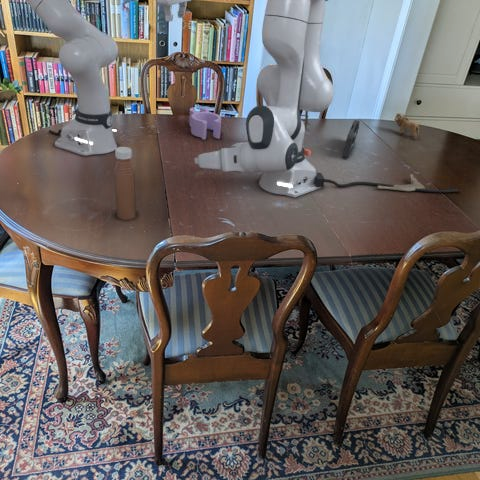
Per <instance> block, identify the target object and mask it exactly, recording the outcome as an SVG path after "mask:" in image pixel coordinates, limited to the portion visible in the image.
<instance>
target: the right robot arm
mask: <svg viewBox="0 0 480 480" xmlns="http://www.w3.org/2000/svg"><path fill="white" fill-rule="evenodd" d="M328 1H329V0H267V1H266V4H265V5H266V6H265V10H264V16H263V21H262V26H261V27H262V28H261V41H262V44H263V47H264V49H265V50H266V52H267V54H269V55H270V56H271V58H272V59H273V60H274V61H275V63H276V64H267V65H265V66H264V67H262V69H261V70H260V71H259V73H258V76H257V79H256V87H257V91H258V93H259V94H260V95H261V97H262V99H263V100H264V102H265V104H266V105H262V104H261V105H257V106H254V107H252V109H251V110H250V111H249V112H248V113H247V117H246V119H245V129H246V137H247V141H242V142H241V141H240V142H236V143H234V144H232V145H230V146H226V147H221V149H219V150H215V151H209V152H204V153H200V154H198V156H197V157H194V164H195V165H198V167H199V168H200V169H207V170H220V171H222V172H223V173H235V174H239V175H244V174H245V175H246V174H247V175H249V174H253V175H254V174H258V173H262V174H261V177H260V178H259V181H258V185H259V186H260V188H262V189H263V190H264V191H266V192H269V193H272V194H275V195H280V196H281V195H282V196H287V197H290V198H297V197H300V196H303V195H305V194H308V193H310V192H313V191H316V190H318V189H322V188H324V187H325V186H324V185H325V183H327V184H328V183H329V184H332V185H334V186H336V187H338V188H348V187H351V186H356V185H357V186H358V185H361V186H373V187H377V186H378V185H380V186H387V187H393V186H394V185H395V184H388V183H380V182H372V181H353V182H347V183H345V184H342V183H338V182H336V181H335V180H332V179H328V178H325V177H324V175H323V174H322V172H317V169H316V167H315V166H314V165H313V164H312V163H311V162H310V161H308V159H306V158H305V156H306V157H310V156H311V154H312V151H311V150H309V149H308V148H304V147H303V145H304V139H305V132H306V129H305V122H304V121H302V120H303V119H302V116H300V115H301V110H302V111H304V112H306V111H308V112H309V113H322V112H324V111H325V110H327V109H328V108H329V107H330V105H331V104H332V103H333V99H334V93H335V90H334V86H333V83H332V81H331V80H330V79H329V78H328V76H327V74H326V72H325V70H324V67H323V63H322V60H321V42H322V41H321V40H322V34H323V33H322V32H323V25H324V21H325V20H324V19H325V11H326V2H328ZM415 189H416V190H415V191H414V192H423V193H436V194H439V193H440V194H447V193H449V194H450V193H459V192H460V189H457V188H456V189H431V188H430V189H429V188H424V189H419V188H415Z"/></svg>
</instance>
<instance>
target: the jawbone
mask: <svg viewBox="0 0 480 480" xmlns="http://www.w3.org/2000/svg"><path fill="white" fill-rule="evenodd" d="M409 179H410V184H409V183H408V184H393V185H394V186H393V187H387V186H380V185H378V186H376V188H377V189H380V190H391V191H400V192H409V193H410V192H416V191H415V190H416V189H415V188H419V189H426V187H425V185H424V184H422V183H421V182H419V181H418V179H417V177H415V176H414V174H413V173H410V174H409Z"/></svg>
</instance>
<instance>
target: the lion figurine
mask: <svg viewBox="0 0 480 480" xmlns="http://www.w3.org/2000/svg"><path fill="white" fill-rule="evenodd" d="M394 123H395V124H396V125H397V127H399V131H398V132H397V134H399V135H401V134H402V133H403V132H404V130H411V133H412V134H411V135H410V136H411V137H412V139H413V140H416V139H417V137H418V139H420V140H421V139H422V137H421V136H420V127H419V126H420V125H419V124H418V122H417V123H416V122H413V121H410V120H409V119H408V117H407V116H406V115H405V114H403V113H402V112H398V113H396V115H395V117H394ZM414 137H416V138H414Z"/></svg>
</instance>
